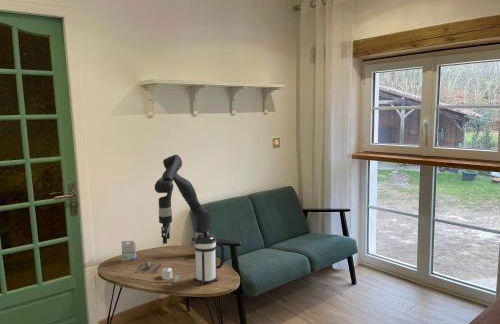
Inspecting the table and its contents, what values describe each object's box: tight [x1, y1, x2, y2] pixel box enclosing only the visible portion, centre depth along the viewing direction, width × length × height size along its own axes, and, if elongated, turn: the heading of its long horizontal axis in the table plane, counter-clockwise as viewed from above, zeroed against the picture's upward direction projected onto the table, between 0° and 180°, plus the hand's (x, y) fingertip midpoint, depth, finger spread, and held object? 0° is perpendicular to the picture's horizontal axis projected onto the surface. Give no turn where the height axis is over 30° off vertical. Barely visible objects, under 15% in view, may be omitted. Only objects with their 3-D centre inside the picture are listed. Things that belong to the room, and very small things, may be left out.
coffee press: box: [193, 231, 225, 286], centre depth 220 cm, size 17×16×30 cm
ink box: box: [121, 240, 137, 262], centre depth 250 cm, size 8×5×15 cm, turn 96°
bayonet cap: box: [161, 267, 173, 280], centre depth 221 cm, size 6×6×6 cm
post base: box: [133, 261, 162, 274], centre depth 234 cm, size 14×14×6 cm
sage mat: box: [154, 274, 180, 284], centre depth 221 cm, size 12×10×1 cm
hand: (166, 241), depth 221 cm, fingers open, 8 cm apart
